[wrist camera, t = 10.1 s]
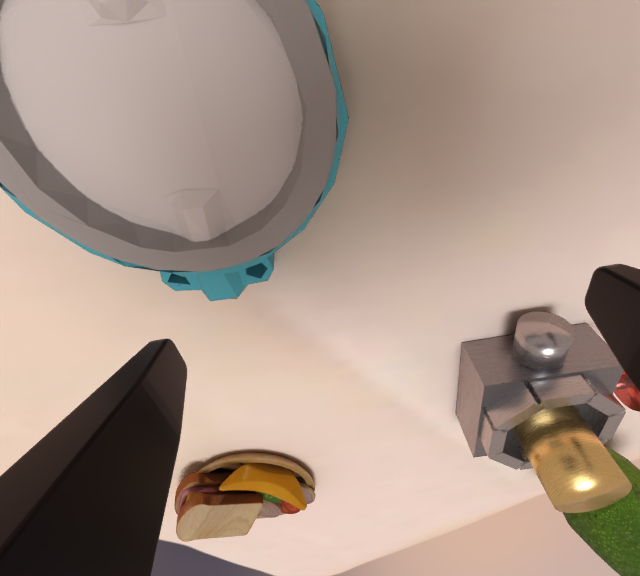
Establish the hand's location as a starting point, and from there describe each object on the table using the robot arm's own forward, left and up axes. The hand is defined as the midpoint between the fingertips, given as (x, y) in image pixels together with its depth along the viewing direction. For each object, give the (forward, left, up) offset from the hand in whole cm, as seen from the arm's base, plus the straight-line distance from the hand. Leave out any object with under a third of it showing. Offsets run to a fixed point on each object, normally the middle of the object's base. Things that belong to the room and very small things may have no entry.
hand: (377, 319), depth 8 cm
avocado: (-20, +34, -13) cm, 42 cm away
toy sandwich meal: (+14, +31, -14) cm, 37 cm away
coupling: (-12, +20, -9) cm, 25 cm away
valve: (-14, +20, -13) cm, 28 cm away
